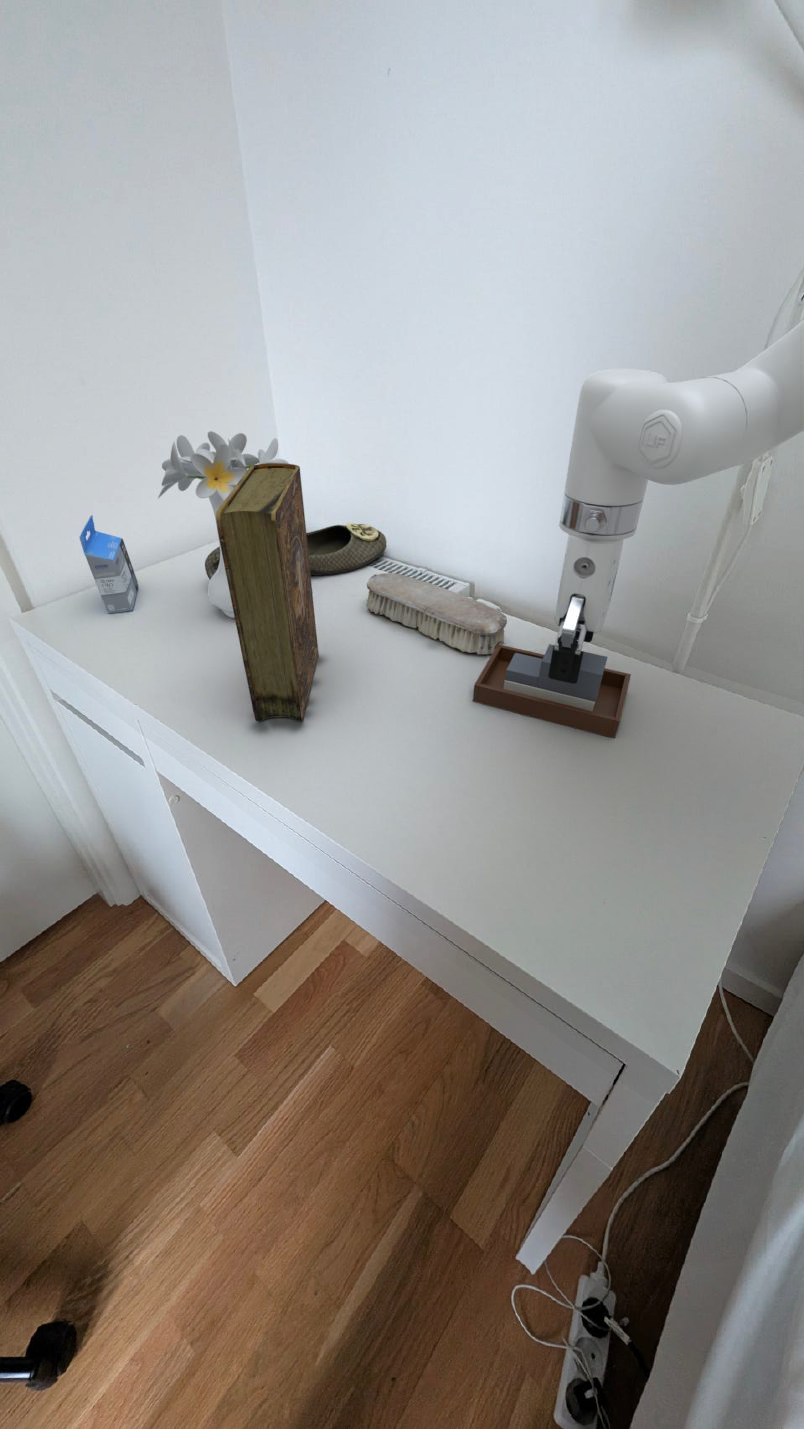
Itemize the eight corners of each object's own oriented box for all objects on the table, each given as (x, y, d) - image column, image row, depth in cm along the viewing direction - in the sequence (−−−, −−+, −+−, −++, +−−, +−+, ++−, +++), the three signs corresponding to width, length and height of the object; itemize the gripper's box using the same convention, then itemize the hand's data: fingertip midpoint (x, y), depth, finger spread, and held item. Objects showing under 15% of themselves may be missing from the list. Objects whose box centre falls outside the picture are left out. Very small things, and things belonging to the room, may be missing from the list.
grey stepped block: (597, 693, 72) (607, 656, 69) (592, 713, 69) (602, 675, 66) (512, 672, 76) (517, 636, 72) (503, 690, 73) (508, 654, 69)
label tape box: (133, 611, 89) (108, 534, 82) (105, 614, 89) (77, 536, 81) (139, 586, 96) (117, 512, 88) (113, 589, 95) (88, 514, 88)
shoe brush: (354, 610, 90) (353, 580, 87) (385, 592, 95) (385, 564, 91) (485, 664, 78) (489, 632, 75) (513, 642, 83) (518, 611, 80)
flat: (399, 563, 104) (399, 521, 99) (216, 601, 92) (206, 556, 87) (373, 541, 111) (372, 502, 107) (202, 574, 100) (192, 531, 95)
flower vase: (314, 595, 94) (297, 427, 78) (230, 645, 82) (191, 458, 66) (255, 575, 99) (229, 415, 84) (169, 620, 87) (119, 442, 72)
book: (280, 651, 81) (252, 462, 65) (319, 651, 81) (301, 463, 65) (256, 726, 68) (213, 514, 52) (302, 727, 68) (274, 515, 52)
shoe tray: (625, 690, 74) (631, 673, 72) (614, 738, 67) (620, 721, 65) (495, 660, 79) (497, 644, 78) (472, 701, 72) (474, 684, 70)
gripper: (628, 549, 50) (591, 706, 61) (647, 493, 63) (613, 631, 73) (542, 537, 53) (521, 690, 63) (577, 485, 65) (554, 620, 76)
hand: (570, 658), depth 68 cm, fingers open, 9 cm apart
